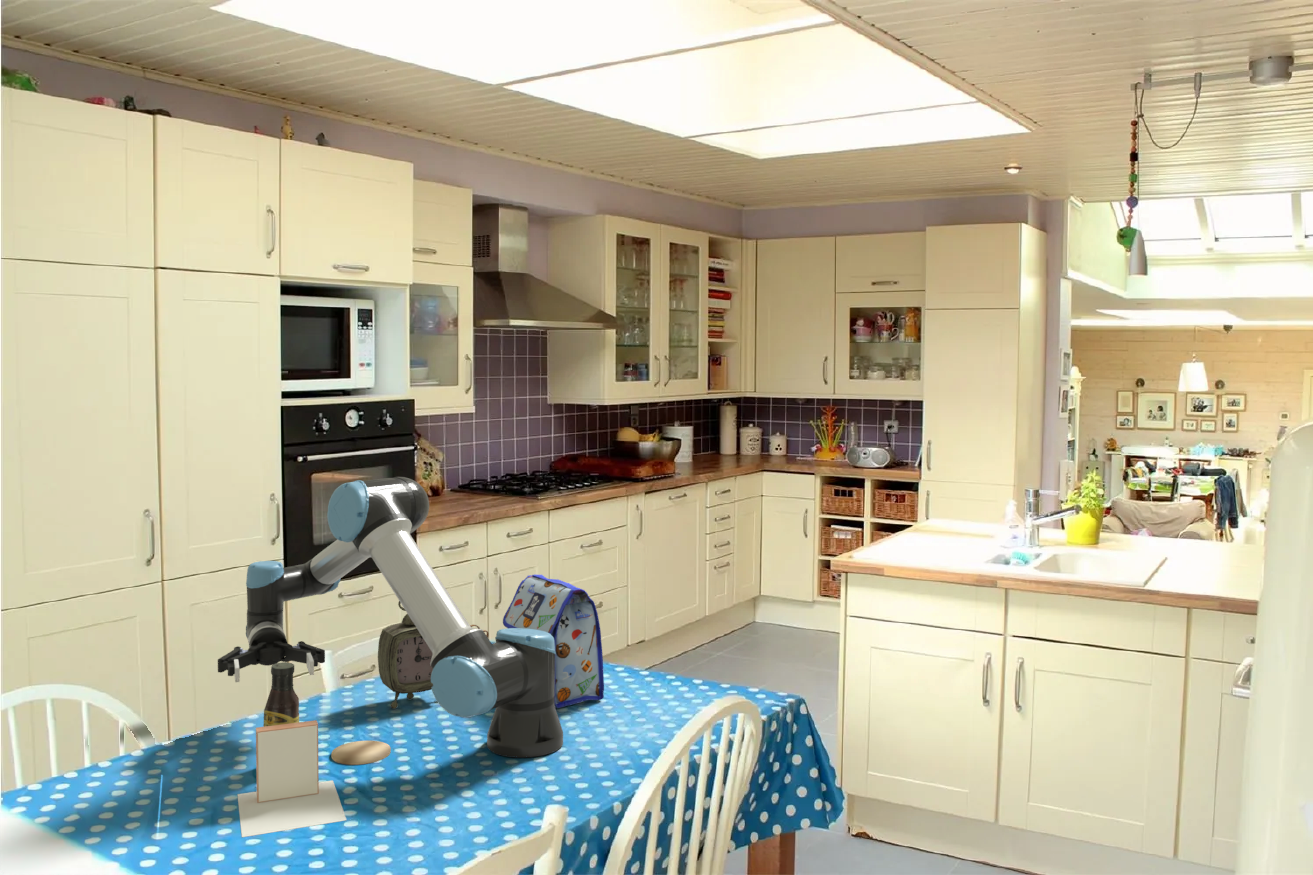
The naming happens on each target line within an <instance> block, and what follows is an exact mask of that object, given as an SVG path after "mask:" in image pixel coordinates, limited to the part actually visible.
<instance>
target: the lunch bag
mask: <svg viewBox="0 0 1313 875" xmlns="http://www.w3.org/2000/svg"><path fill="white" fill-rule="evenodd" d="M595 603H596V602H595V601H594V600H593V599H592V598H591V597H590V596H589V594H588V593H587V591H586V590H585V589H582V588H579V587H576V586H575V585H573V584H571V583H570V582H565V581H563V580H561V579H558V578H557V579H553V578H547V577H545V575H543V574H532V575H529V574H528V575H527V576H526V577H525V578H524V579H523V580H521V582H520V583H519V585H518V586H517V589H516V591H515V593H514V596H513V598H512V600H511V603H510V604H509V606H508V608H507V610H506V612H505V614H504V615H503V618H502V624H503V626H504V627H505V629H507V628H524V629H535V630H541V631H545V632H548V633H550V634H551V635H552V636H553V638H554V644H555V652H556V654H555V708H556V709H559V708H564V707H568V706H571V705H572V706H573V705H576V704H579V703H582V702H585V701H601V700H603V699H604V695H605V694H604V691H605V679H604V657H603V656H604V655H603V646H602V632H601V625H600V620H599V619H600V618H599V615H598V611H597V608H596V604H595Z"/></svg>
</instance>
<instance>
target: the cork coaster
mask: <svg viewBox="0 0 1313 875" xmlns="http://www.w3.org/2000/svg"><path fill="white" fill-rule="evenodd" d="M391 749H392V748H391V746H390V745H389V744H388V743H386V742H383V741H379V740H358V741H357V740H356V741H351V742H347V743H343V744H341V745H339V746H337V747H335V748H334V749H333V750H331V760H332V761H334V762H335V763H338V764H342V765H348V766H349V765H352V766H353V765H354V766H355V765H357V766H358V765H368V764H374V763H376V762H379V761H382V760H385V759H386V758H388V757H389V756H390V754H391V751H392V750H391Z"/></svg>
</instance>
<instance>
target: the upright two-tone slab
mask: <svg viewBox="0 0 1313 875" xmlns="http://www.w3.org/2000/svg"><path fill="white" fill-rule="evenodd" d="M255 761H256V762H255V764H256V765H255V766H256V767H255V768H256V770H255V772H256V776H255V777H256V779H255V780H256V792H257V803H260V802H266V801H273V800H280V799H286V798H293V797H299V796H306V795H313V794H319V782H320V781H319V776H320V775H319V723H318V721H317V720H316V719H315V720H314V719H313V720H307V721H299V722H298V723H290V724H281V725H273V726H265V727H263V726H259V727H255Z"/></svg>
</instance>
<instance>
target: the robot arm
mask: <svg viewBox="0 0 1313 875" xmlns="http://www.w3.org/2000/svg"><path fill="white" fill-rule="evenodd" d="M429 499H430V498H429V496H428V494H427V492H426V491H425V488H424V487H423V486H422V485H421V484H420V483H418V482H417V481H415V480H413V479H412V478H408V477H405V476H395V477H394V476H393V477H387V478H379V479H378V478H377V479H370V480H360V479H359V480H358V479H357V480H354V481H351V482H345V483H342V484H340V485H339V486H337V487H336V488H335V489H334V490H333V492H332V494H331V496H330V498H329V501H328V505H327V512H326V515H327V523H328V527H329V530H330V533H331V535H332V536H333V537H334V538H335V539H336V540H335V541H334V542H332V543H331V544H330V545H327V547H325V548H324V549H322V551H320V552H319V553H317V555H315V556H314V557H313V558H311V559H309V560H308V561H307V562H305V563H303V564H302V563H301V564H298V565H297V564H296V565H292V566H291V565H290V566H287V567H284V565H283V563H282V562H280V561H277V560H260V561H256V562H255V561H254V562H252V563H250V564H249V565H248V567H247V571H246V582H245V586H246V603H247V605H246V606H247V609H246V625H245V636H246V638H247V641H248V642H247V643H248V649H244V648H241V646H238V645H237V646H234V647H233V650H231V651H229V652H227V653H226V654H225V655H223V656H221V657H219V658H218V659H217V673H223V672H226V671H227V676H228V677H233V676H234V682H235V683H240V681H241V678H240V677H241V676H240V670H241V669H243V668H246V667H248V666H257V665H262V666H267V667H268V666H272V665H273V664H276V663H282V662H287V663H290V662H296V663H301V664H306V668H307V671H308V673H309V676H313V675H315V667H318V666H319V664H323V663H326V662H325V661H326V650H325V649H322V648H319V647H318V646H313V645H311V644H307V643H306V642H305V641H303V640H302V641H298V642H297V644H296V645H292V644H290V643H288V639H287V637H286V634H285V631H284V603H285V602H289V601H294V600H298V599H303V598H309V597H314V596H317V595H319V596H320V595H324V594H327V593H329V592H333V591H335V590H336V589H337V588H338V587H339V584H340V582H341V578H343V577H344V576H346V575H347V574H348V573H350V572H352V571H353V570H354V569H355V568H357V567H358V566H360V565H361V564H362V563H364V562H365V561H366V560H368V559H369V558H371V559H372V561H373V562H374V563H375V565H376V567H377V568H378V570H379V572H380V573H381V574H382V576H383V577H384V579H385V581H386V582H387V584H388V585H389V587H390V589H391V590H392V591H393V593H394V595H395V596H396V598H397V599H398V602H399V601H400V603H401V607H403V608H404V609H405V610H406V611H405V612H406V614H408V615H409V617H410V618H411V620H412V622H413V623H414V625H415V626H416V628H417V629H418V631H419V633H420V634H421V636H422V637H423V639H424V640H425V642H426V644H427V645H428V647H429V648H430V650H431V651H432V658H431V662H430V665H431V667H432V668H433V671H432V674H431V683H433V686H432V687H431V688H432V690H431V691H432V694H433V697H434V698H435V701H436V702H437V703H438V705H439V706H440V707H441V708H442V709H443V710H444V711H446V713H448V714H449V715H452V716H454V717H459V718H471V717H474V716H480V715H483V714H486V713H488V712H489V711H490V710H493V709H494V712H493V715H492V718H491V722H490V725H489V728H488V731H487V733H486V734H487V735H486V748H487V749H488V750H489V751H490V752H492V753H494V754H496V755H498V756H502V757H509V758H535V757H541V756H546V755H549V754H551V753H554V752H556V751H558V750H560V749H561V748H562V747H563V745H564V731H563V730H564V729H563V728H562V724H561V722H560V719H559V718H560V717H559V715H558V711H557V708H556V707H555V654H556V652H555V644H554V638H553V636H552V635H551V634H550V633H548V632H545V631H541V630H535V629H524V628H502V629H498V630H497V631H496V635H495V642H494V643H493V642H491V640H490V639H489V636H488V637H487V636H486V635H487V633H485V632H484V631H483V630H484V629H481V628H480V629H478V628H477V627H473V626H472V627H471V626H470V624H469V622H468V620H467V619H466V618H465V616H464V614H463V613H462V611H461V610H460V608H459V606H458V605H457V604H456V602H455V600H454V599H453V598H452V596H451V595H450V593H449V591H448V590H447V588H446V587H445V586H444V584H443V582H442V581H441V579H440V577H439V576H438V575H437V573H436V571H435V570H434V568H433V567H432V565H431V564H430V563H429V561H428V559H427V558H426V556H425V555H424V553H423V552H422V550H421V549H420V548H419V546H418V544H417V542H415V539H414V538H413V537H412V535H411V534H412V533H414V532H415V531H416V530H417V529H419V528H420V527H421V526H422V525H423V523H424V522H425V521H426V519H427V518H428V514H429V512H430V501H429Z"/></svg>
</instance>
